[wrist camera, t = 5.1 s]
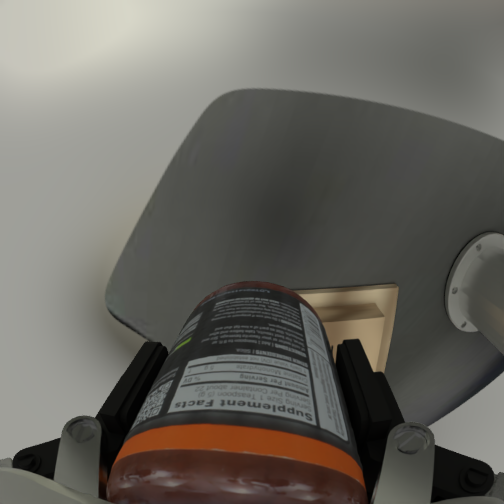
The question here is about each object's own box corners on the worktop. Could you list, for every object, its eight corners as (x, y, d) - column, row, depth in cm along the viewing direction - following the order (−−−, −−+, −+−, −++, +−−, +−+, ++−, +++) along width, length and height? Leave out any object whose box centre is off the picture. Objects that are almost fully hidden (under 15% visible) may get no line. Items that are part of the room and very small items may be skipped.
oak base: (395, 283, 28) (410, 299, 25) (380, 373, 32) (389, 394, 28) (260, 292, 29) (259, 310, 26) (265, 384, 33) (264, 407, 29)
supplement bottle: (297, 400, 13) (303, 623, 3) (178, 370, 13) (89, 586, 2) (347, 297, 12) (460, 590, 1) (203, 256, 12) (8, 556, 1)
